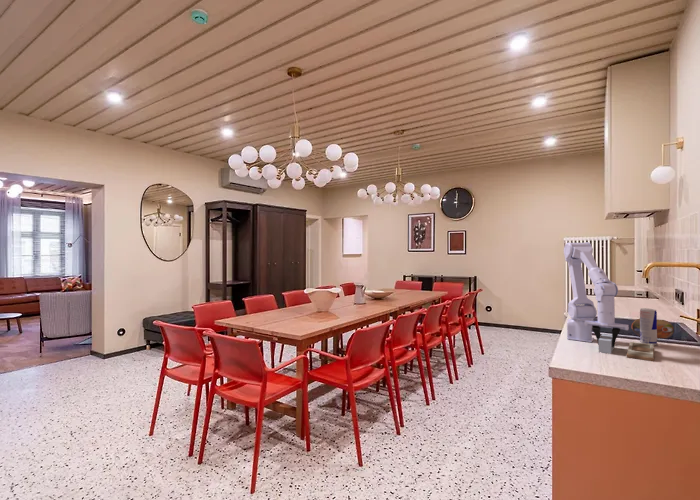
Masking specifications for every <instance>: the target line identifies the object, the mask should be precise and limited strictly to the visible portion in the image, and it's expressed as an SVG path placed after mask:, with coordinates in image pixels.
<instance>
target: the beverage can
mask: <svg viewBox="0 0 700 500" xmlns="http://www.w3.org/2000/svg"><path fill="white" fill-rule="evenodd" d="M657 315H658V313H657V309H655V308H647V307H646V308H645V307H642V308H641V307H640V308H639V319H640V336H639V343H644V344H652V345H653V346H656V345H657V344H658V338H657V319H658V318H657V317H658V316H657Z"/></svg>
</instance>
